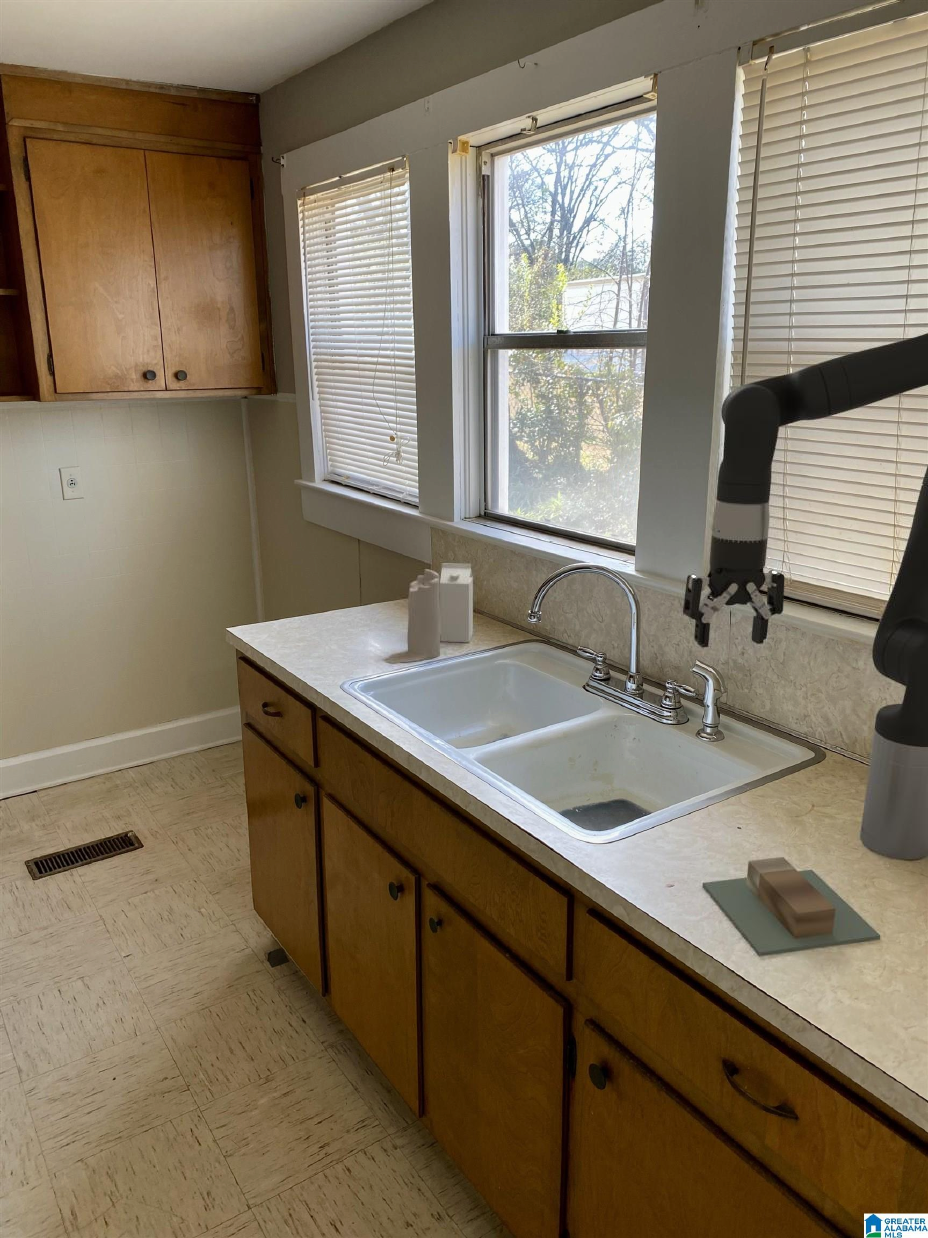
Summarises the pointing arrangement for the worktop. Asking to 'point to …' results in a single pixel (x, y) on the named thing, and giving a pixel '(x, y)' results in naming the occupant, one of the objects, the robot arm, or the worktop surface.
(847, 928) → the sage mat
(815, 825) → the worktop surface
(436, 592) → the candle
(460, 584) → the milk carton
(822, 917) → the stepped wooden block
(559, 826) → the worktop surface
